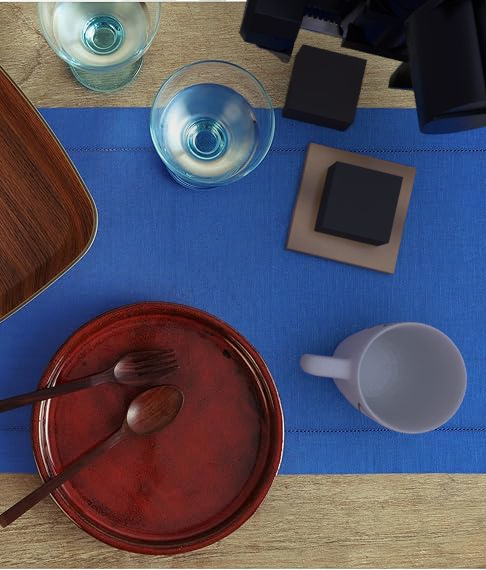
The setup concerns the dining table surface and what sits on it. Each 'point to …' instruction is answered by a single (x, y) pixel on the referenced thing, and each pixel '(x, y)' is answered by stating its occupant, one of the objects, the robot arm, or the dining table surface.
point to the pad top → (324, 88)
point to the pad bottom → (358, 204)
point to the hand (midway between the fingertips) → (338, 69)
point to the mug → (397, 375)
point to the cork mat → (336, 247)
